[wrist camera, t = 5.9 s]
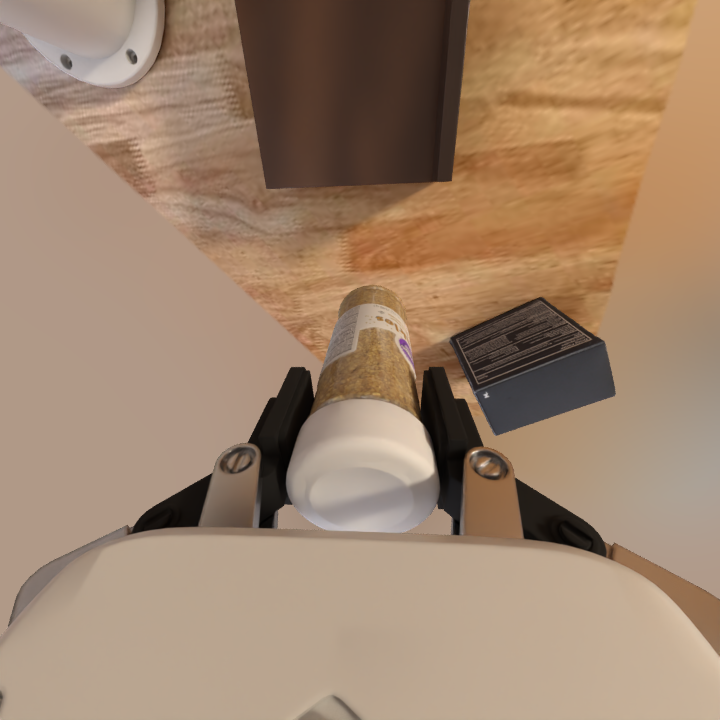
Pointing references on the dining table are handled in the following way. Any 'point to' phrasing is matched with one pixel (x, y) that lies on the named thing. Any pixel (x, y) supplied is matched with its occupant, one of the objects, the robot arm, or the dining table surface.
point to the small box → (533, 365)
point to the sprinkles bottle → (365, 427)
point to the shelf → (354, 88)
